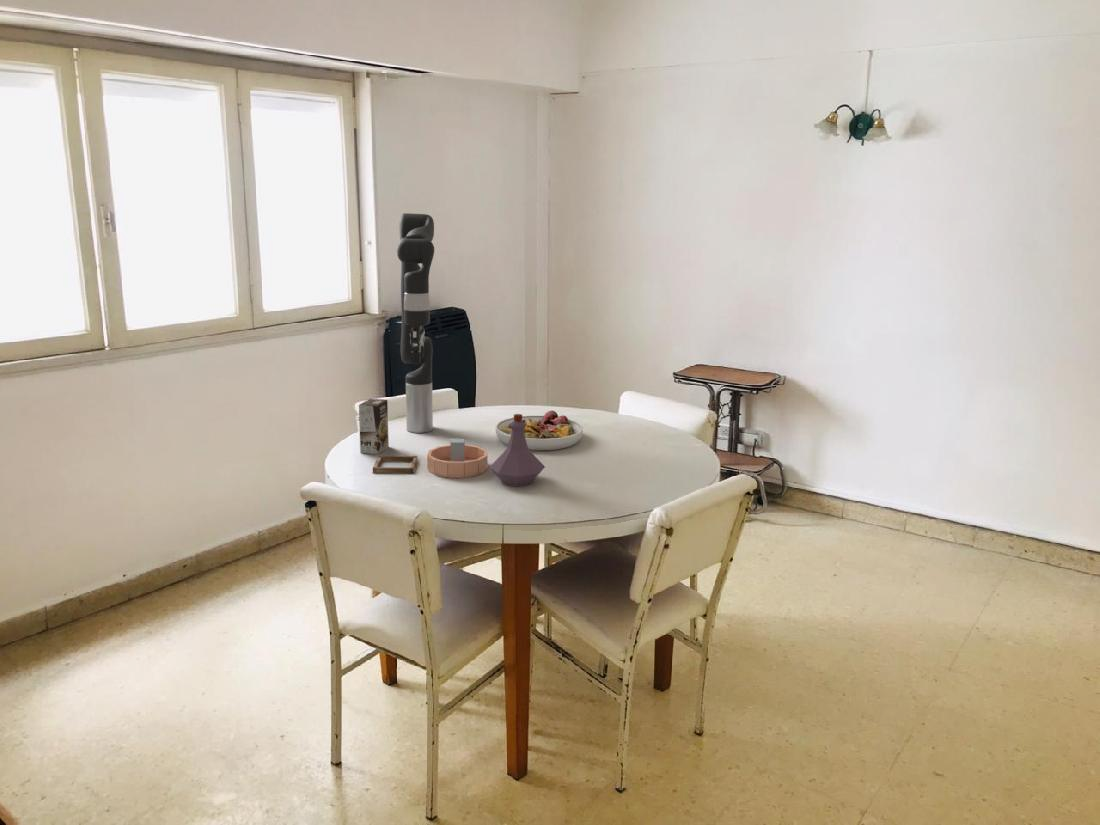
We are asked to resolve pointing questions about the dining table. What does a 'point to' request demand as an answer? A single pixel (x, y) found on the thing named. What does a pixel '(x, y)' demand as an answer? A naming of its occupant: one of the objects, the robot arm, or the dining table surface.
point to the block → (457, 450)
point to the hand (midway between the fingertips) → (417, 362)
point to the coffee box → (373, 426)
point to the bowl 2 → (544, 431)
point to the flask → (517, 458)
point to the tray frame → (395, 469)
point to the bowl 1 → (444, 467)
